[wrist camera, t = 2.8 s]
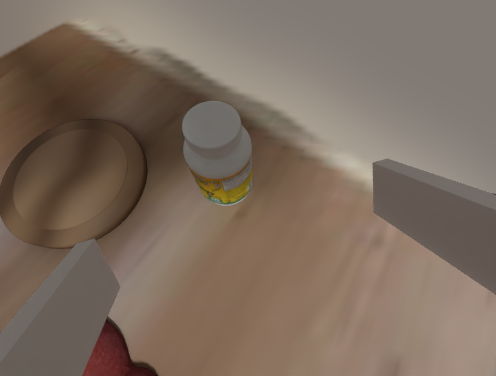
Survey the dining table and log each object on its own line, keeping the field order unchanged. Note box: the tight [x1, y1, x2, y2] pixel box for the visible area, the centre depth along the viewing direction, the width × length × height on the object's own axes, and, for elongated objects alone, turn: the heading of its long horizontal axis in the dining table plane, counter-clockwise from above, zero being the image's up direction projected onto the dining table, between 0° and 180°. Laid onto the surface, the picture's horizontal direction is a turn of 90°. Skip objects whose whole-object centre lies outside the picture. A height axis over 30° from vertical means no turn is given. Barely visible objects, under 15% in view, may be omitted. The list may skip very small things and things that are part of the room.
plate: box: [0, 119, 147, 249], centre depth 25 cm, size 14×14×1 cm
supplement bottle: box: [182, 101, 253, 206], centre depth 21 cm, size 5×5×10 cm
